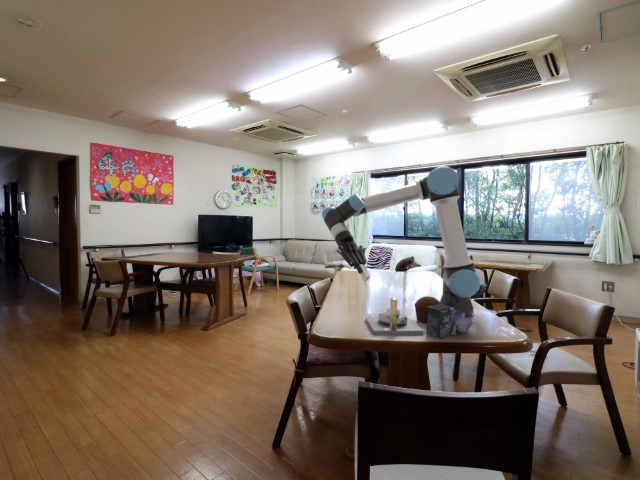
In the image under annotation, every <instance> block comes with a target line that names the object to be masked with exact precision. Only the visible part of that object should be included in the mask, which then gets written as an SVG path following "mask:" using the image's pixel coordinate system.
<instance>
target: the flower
mask: <svg viewBox="0 0 640 480" xmlns="http://www.w3.org/2000/svg"><path fill="white" fill-rule="evenodd" d="M473 325H474V322H473V320H472V319H471V318H468V317H466V316H465V313H462V314H461V312H460V311H458V310H457V311H456V310H454V313H453V336H454V335H455V336H454V337H456V336H457V335H456V334H457V333H456V332H459V333H461V334H466V333H468V330H469V329H471V327H472V326H473Z"/></svg>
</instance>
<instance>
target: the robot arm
mask: <svg viewBox="0 0 640 480" xmlns="http://www.w3.org/2000/svg"><path fill="white" fill-rule="evenodd" d="M460 197H461V195H460V190H459V176H458V173H457V172H456V171H455V170H454V168H451V167H450V166H446V165H445V166H443V165H442V166H437V167H436V168H434V169H432V170H430V172H429V173H428V175H427V176H425V177H423V178H420V179H418V180H416V182H415V183H411V184H407V185H404V186H400V187H396V188H393V189H389V190H387V191H382V192H380V193H376V194H373V195H368V196H364V197H362V198H361V197H360V195H358V194H357V193H354V194H353V195H351V196H349V197H348V198H347V199H346V200H344V201H343V202H342V203H340V204H339V205H338V206H337V207H335V206H329V207H326V208H325V209H324V210H322V212H321V217H322V219H323V222H324V224H325V226H326V228H328V231H329V232H330V233H331V236H332V238H333V239H334V242H335V243H336V245H337V246H338V247H337V249H336V252H337V253H338V254H339V255H340V256H341V257H342V258H343V260H344V261H345V262H346V263H347V265H349V267H351V268H353V269H354V270H356V271H357V273H358V274H359V275H360V276H361V278H362V280H363V281H364V282H368V280H369V279H371V275H370V274H369V272H368V269H367V266H366V264H367V263H368V262H367V259H366V255H365V253H364V250H363V247H364V246H363V245H361V244H360V245H357V243H356V242H355V241H354V236H353V235H352V233H351V232H350V230H349V228H348V226H347V225H346V223H345V222H347V221H348V220H350V219H351V218H352V217H359V216H361V215H364V214H369V213H372V212H376V211H379V210H383V209H386V208H390V207H393V206H398V205H402V204H405V203H410V202H413V201H416V200H421V201H425V200H429V202H430V204H432V205H434V207H435V212H436V217H437V221H438V227H439V230H440V231H439V232H440V235H441V241H442V245H443V250H444V254H445V259H446V261H445V262H444V263H443V265H442V266H443V267H442V294H441V297H440V300H439V302H440V303H441V304H443V305H447V306H450V307H454V310H456V311H457V310H458V311H460V312H461V314H462V313H465V317H470V316H469V315H471V316H473V315H474V312H475V309H474V306H473V302H472V299H471V297H472V296H474V295H475V294H476V293H477V292H478V291H479V290H480V287H481V279H480V277H479V275H478V273H477V272H476V267H475V261H474V260H472V259H470V258H469V253H468V248H467V243H466V239H465V234H464V230H463V225H462V220H461V219H462V218H461V215H460V211H459V205H458V200H459V199H460ZM472 314H473V315H472Z"/></svg>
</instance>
